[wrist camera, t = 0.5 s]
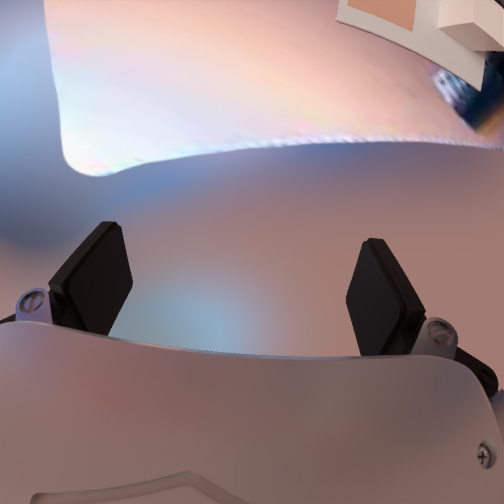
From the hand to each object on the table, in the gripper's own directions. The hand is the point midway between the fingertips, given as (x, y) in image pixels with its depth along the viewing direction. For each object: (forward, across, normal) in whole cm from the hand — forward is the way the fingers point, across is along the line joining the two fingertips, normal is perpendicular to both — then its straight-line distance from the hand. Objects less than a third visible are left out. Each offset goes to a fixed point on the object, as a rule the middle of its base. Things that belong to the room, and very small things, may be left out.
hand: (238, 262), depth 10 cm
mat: (+30, -23, -24) cm, 45 cm away
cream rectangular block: (+29, -29, -26) cm, 49 cm away
